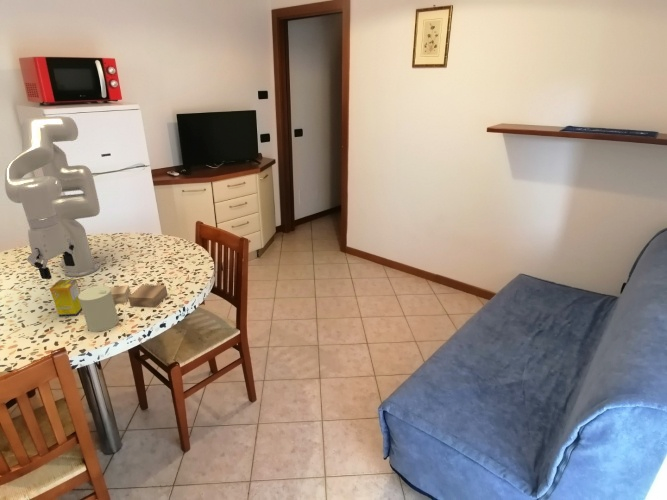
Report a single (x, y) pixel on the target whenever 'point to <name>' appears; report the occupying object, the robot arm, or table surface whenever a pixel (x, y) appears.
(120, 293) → the oak brick
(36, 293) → the table surface
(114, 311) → the can
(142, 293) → the base brick
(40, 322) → the table surface
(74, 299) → the supplement box
